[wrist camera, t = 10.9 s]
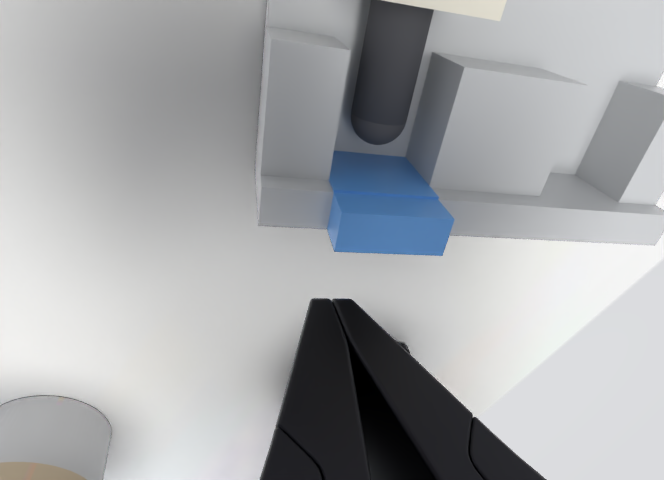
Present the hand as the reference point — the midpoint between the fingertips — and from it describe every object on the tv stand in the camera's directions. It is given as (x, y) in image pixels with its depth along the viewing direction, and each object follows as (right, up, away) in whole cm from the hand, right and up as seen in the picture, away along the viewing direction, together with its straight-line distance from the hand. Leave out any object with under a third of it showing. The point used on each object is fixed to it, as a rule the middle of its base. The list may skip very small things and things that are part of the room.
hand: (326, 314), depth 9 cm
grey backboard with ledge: (+6, +10, +9) cm, 15 cm away
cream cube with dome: (+2, +10, +7) cm, 13 cm away
